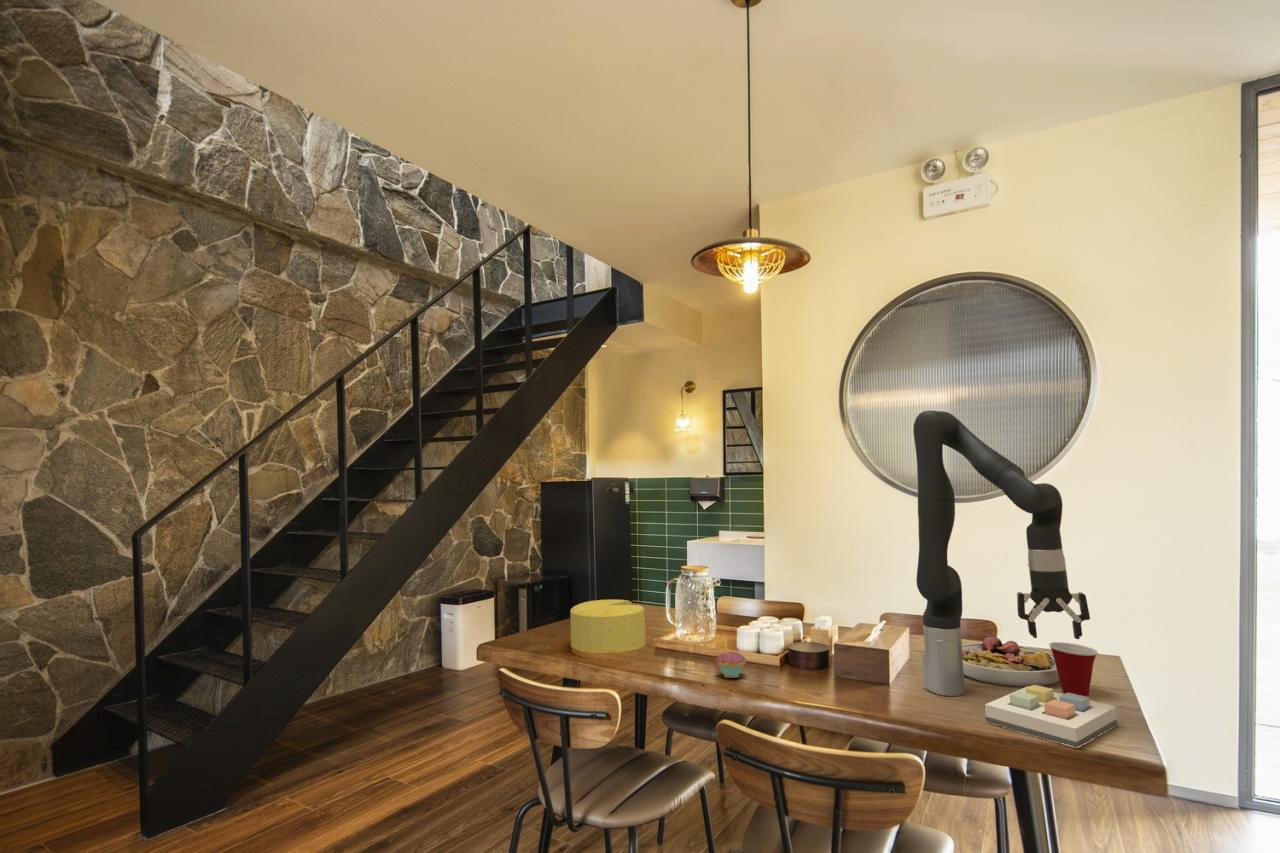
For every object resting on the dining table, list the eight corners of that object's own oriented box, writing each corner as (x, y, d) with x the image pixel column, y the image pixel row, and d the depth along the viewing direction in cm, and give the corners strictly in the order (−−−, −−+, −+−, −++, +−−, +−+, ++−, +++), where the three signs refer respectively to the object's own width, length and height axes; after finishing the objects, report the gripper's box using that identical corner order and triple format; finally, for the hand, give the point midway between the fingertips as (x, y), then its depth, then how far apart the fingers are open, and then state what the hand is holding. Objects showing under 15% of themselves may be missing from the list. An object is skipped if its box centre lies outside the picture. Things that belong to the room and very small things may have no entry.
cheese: (656, 642, 235) (655, 600, 236) (627, 662, 211) (626, 614, 212) (591, 637, 245) (590, 596, 246) (556, 655, 221) (556, 610, 222)
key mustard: (1025, 698, 157) (1025, 688, 157) (1034, 694, 159) (1033, 684, 159) (1045, 703, 153) (1044, 693, 153) (1054, 699, 156) (1053, 689, 156)
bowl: (1087, 692, 172) (1085, 662, 172) (964, 688, 178) (962, 659, 178) (1041, 661, 201) (1040, 634, 202) (937, 658, 207) (936, 632, 208)
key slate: (1060, 707, 150) (1059, 696, 151) (1068, 702, 153) (1067, 692, 153) (1081, 712, 147) (1080, 701, 147) (1089, 708, 149) (1089, 697, 150)
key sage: (1010, 705, 152) (1009, 695, 153) (1019, 701, 155) (1018, 691, 155) (1030, 710, 149) (1029, 699, 149) (1039, 706, 151) (1038, 695, 151)
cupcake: (714, 679, 190) (712, 637, 191) (720, 671, 198) (718, 631, 199) (743, 682, 187) (741, 639, 188) (748, 673, 195) (747, 632, 196)
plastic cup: (1107, 702, 164) (1103, 653, 165) (1057, 697, 168) (1053, 650, 169) (1095, 688, 174) (1091, 642, 175) (1048, 685, 178) (1045, 640, 179)
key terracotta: (1045, 714, 146) (1044, 703, 146) (1054, 710, 149) (1053, 699, 149) (1066, 720, 143) (1065, 709, 143) (1075, 715, 145) (1074, 704, 145)
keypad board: (986, 722, 152) (984, 704, 153) (1029, 703, 164) (1028, 686, 165) (1077, 749, 137) (1075, 728, 137) (1117, 725, 149) (1115, 706, 149)
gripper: (1015, 570, 154) (1023, 640, 153) (1086, 569, 149) (1095, 642, 147) (1011, 566, 161) (1018, 633, 160) (1078, 565, 156) (1087, 635, 154)
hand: (1055, 637), depth 153 cm, fingers open, 8 cm apart
